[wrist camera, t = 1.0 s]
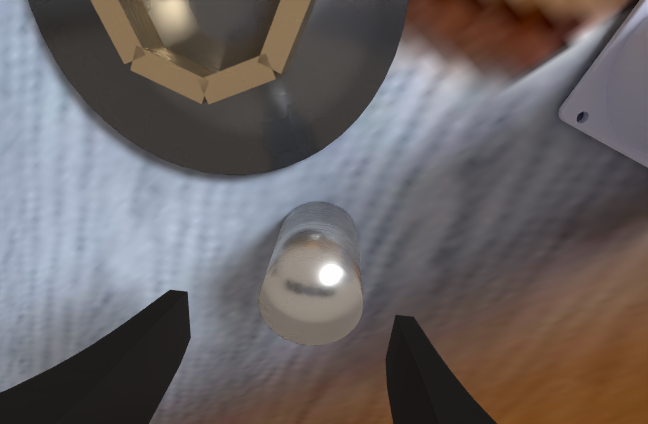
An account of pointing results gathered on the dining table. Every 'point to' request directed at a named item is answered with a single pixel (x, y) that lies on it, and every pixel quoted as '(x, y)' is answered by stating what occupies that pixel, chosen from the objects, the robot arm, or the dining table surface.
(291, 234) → the piston
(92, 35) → the ring collar
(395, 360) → the robot arm
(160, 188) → the dining table surface
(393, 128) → the dining table surface
